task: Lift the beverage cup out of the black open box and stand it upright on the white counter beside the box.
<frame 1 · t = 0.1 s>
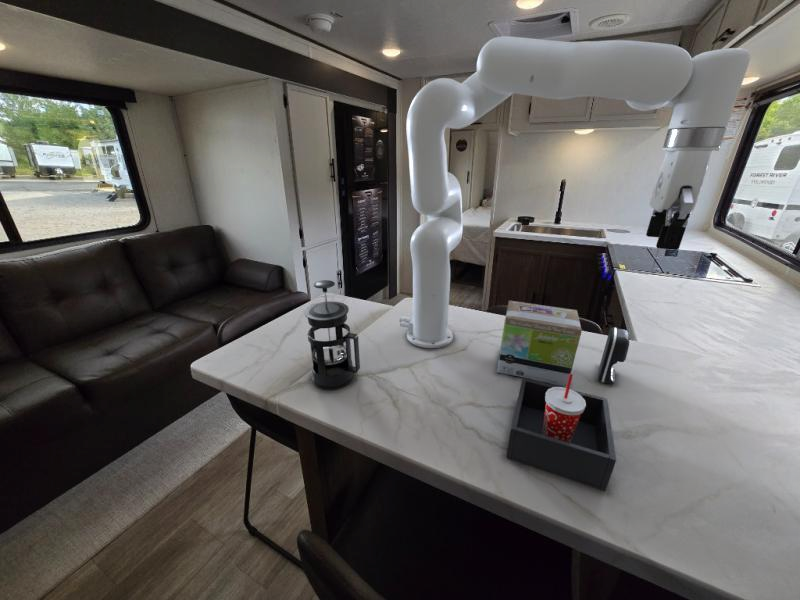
hand: (660, 242, 63), 31 cm above the counter, tool pointing down, fingers open, 9 cm apart
battery charger: (607, 377, 77), on the counter
french press: (335, 378, 77), on the counter
beverage cup: (555, 440, 60), resting on black open box
black open box: (555, 440, 60), on the counter
tea box: (531, 369, 80), on the counter
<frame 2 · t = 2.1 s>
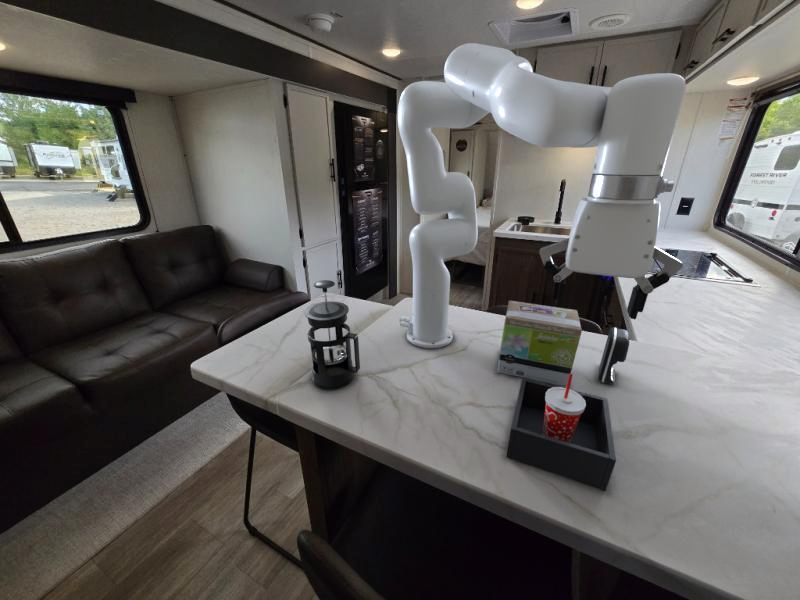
hand: (593, 309, 51), 25 cm above the counter, tool pointing down, fingers open, 9 cm apart
nothing on the counter moved.
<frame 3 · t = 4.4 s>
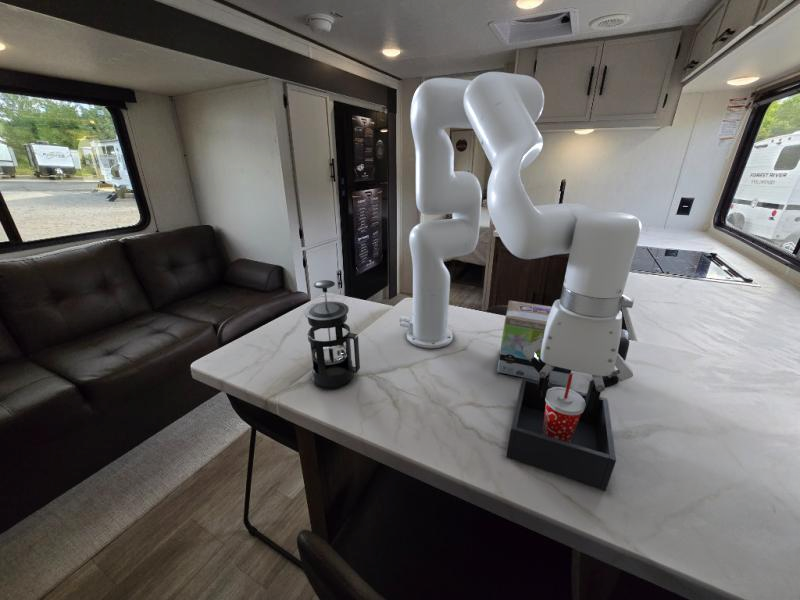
hand: (565, 398, 56), 9 cm above the counter, tool pointing down, fingers closed on beverage cup, 6 cm apart
beverage cup: (555, 440, 60), resting on black open box, touching gripper
everything else where it was.
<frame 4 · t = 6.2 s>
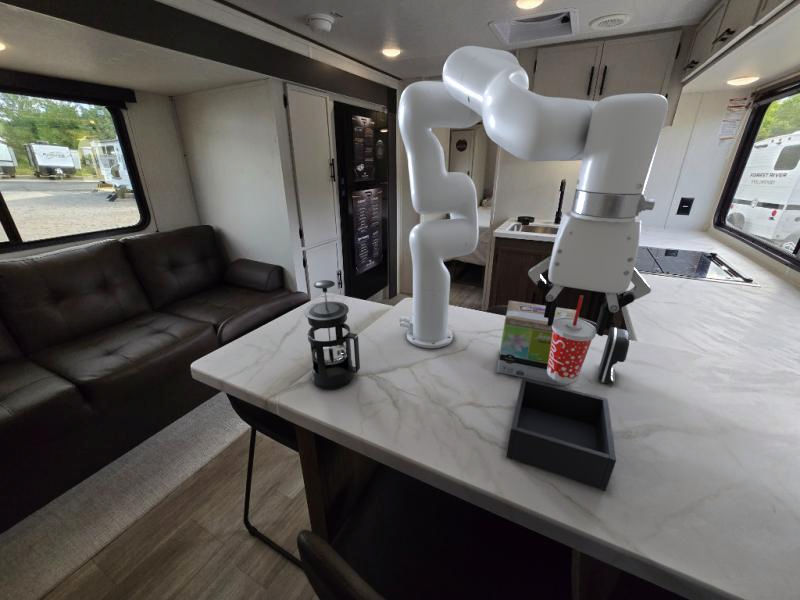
hand: (574, 325, 51), 23 cm above the counter, tool pointing down, fingers closed on beverage cup, 6 cm apart
beverage cup: (561, 375, 55), point 13 cm above the counter, touching gripper
everything else where it was.
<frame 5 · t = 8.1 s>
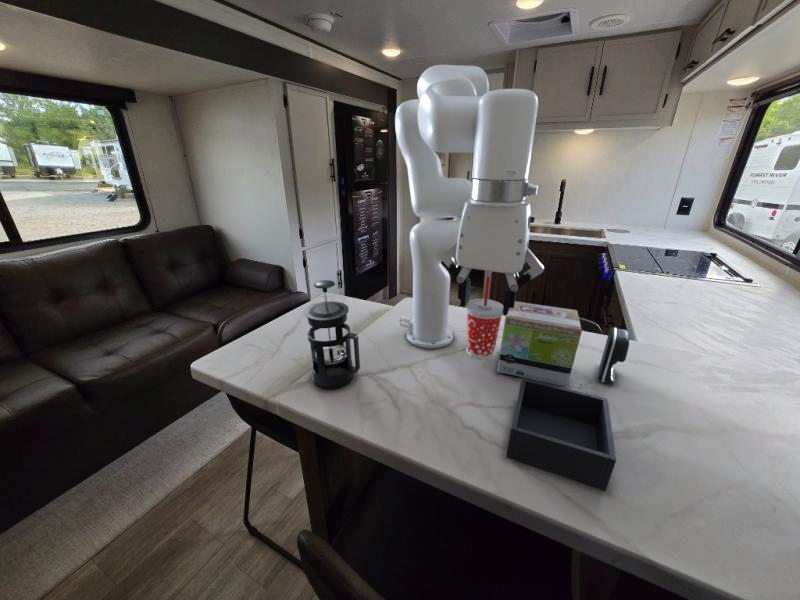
hand: (485, 306, 55), 24 cm above the counter, tool pointing down, fingers closed on beverage cup, 6 cm apart
beverage cup: (479, 354, 59), point 15 cm above the counter, touching gripper
everything else where it was.
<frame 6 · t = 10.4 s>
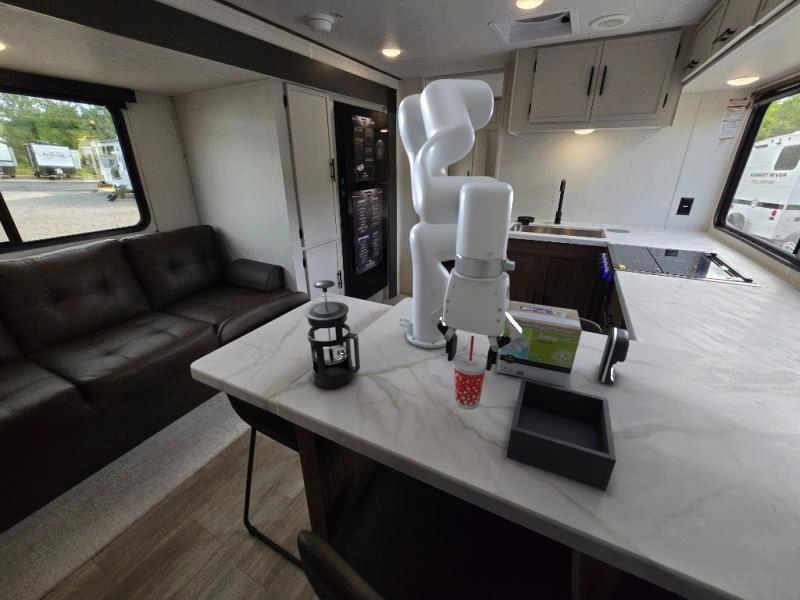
hand: (470, 361, 60), 13 cm above the counter, tool pointing down, fingers closed on beverage cup, 6 cm apart
beverage cup: (466, 402, 64), point 4 cm above the counter, touching gripper
everything else where it was.
when the fingers open (9 cm above the counter, at t = 11.9 s): beverage cup stays where it is, on the counter.
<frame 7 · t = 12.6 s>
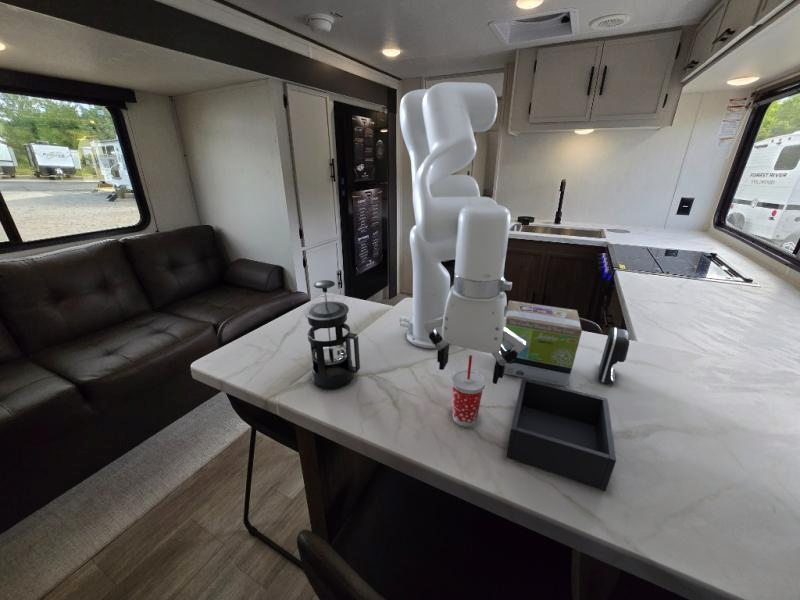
hand: (469, 372, 61), 10 cm above the counter, tool pointing down, fingers open, 9 cm apart
beverage cup: (464, 418, 65), on the counter
everything else where it was.
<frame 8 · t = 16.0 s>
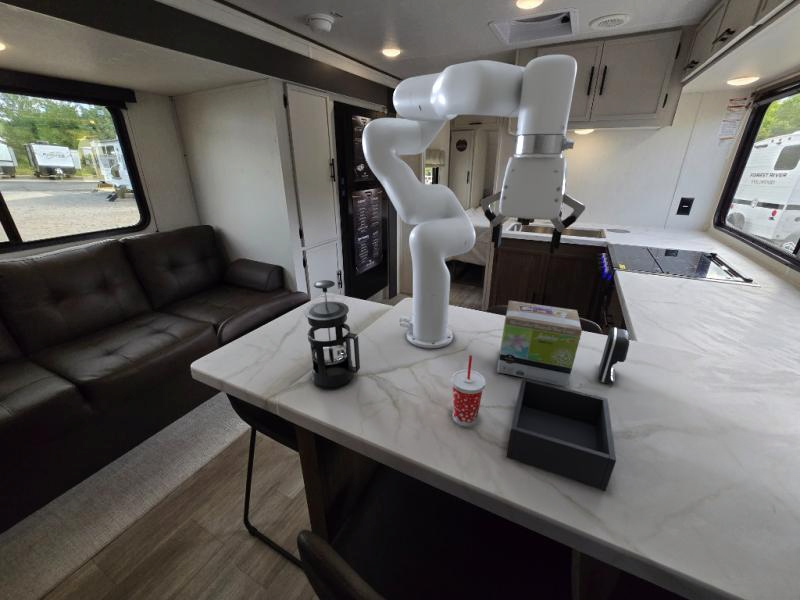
hand: (523, 249, 63), 30 cm above the counter, tool pointing down, fingers open, 9 cm apart
nothing on the counter moved.
at the end: beverage cup inside the target area (0.5 cm from its centre), on the counter; beverage cup tilted 0°; the gripper is holding nothing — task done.
